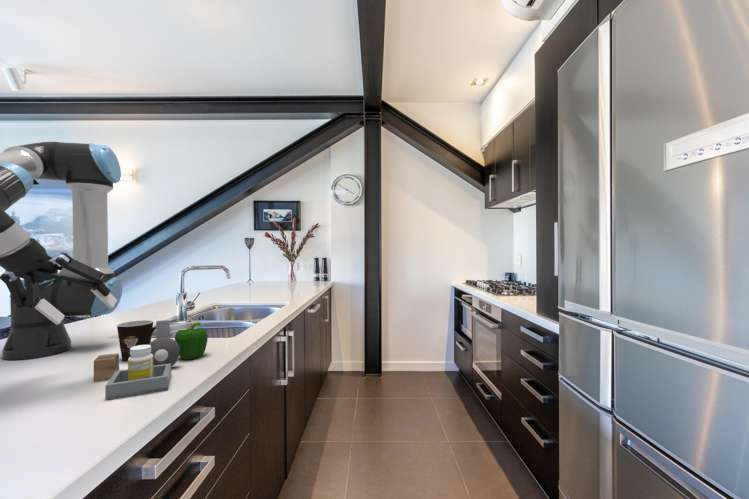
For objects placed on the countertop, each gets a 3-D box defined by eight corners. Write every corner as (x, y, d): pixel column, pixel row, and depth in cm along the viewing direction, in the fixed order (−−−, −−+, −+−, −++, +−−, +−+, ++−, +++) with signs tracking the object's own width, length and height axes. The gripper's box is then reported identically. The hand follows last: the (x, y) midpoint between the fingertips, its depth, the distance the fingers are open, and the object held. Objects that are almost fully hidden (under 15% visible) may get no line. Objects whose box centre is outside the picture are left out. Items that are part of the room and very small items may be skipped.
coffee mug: (109, 362, 96) (108, 326, 96) (134, 353, 104) (134, 320, 104) (146, 363, 94) (146, 327, 94) (169, 354, 103) (169, 320, 103)
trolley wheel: (146, 366, 92) (145, 321, 92) (180, 362, 95) (180, 318, 95) (142, 373, 86) (142, 325, 86) (179, 368, 90) (178, 322, 90)
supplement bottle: (138, 380, 80) (138, 344, 80) (158, 380, 80) (158, 344, 80) (122, 388, 76) (122, 349, 76) (143, 388, 75) (143, 349, 75)
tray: (116, 383, 80) (116, 370, 80) (171, 375, 85) (171, 363, 85) (105, 400, 71) (105, 385, 71) (167, 390, 76) (167, 376, 76)
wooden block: (99, 375, 86) (99, 355, 86) (119, 372, 88) (119, 353, 88) (93, 382, 81) (93, 361, 81) (114, 379, 83) (114, 358, 83)
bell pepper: (168, 362, 95) (167, 326, 95) (184, 353, 104) (183, 320, 104) (198, 361, 96) (198, 325, 96) (212, 352, 104) (212, 319, 104)
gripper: (-60, 276, 69) (29, 339, 83) (60, 240, 70) (130, 308, 83) (-32, 254, 75) (47, 315, 88) (78, 220, 75) (140, 287, 89)
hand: (87, 312), depth 86 cm, fingers open, 13 cm apart
